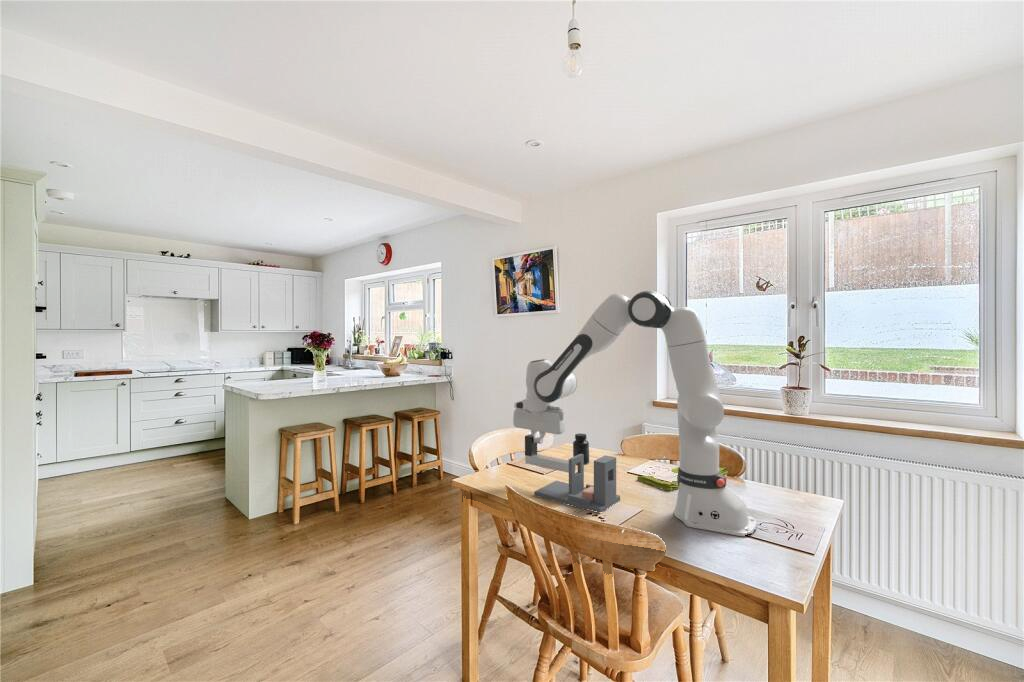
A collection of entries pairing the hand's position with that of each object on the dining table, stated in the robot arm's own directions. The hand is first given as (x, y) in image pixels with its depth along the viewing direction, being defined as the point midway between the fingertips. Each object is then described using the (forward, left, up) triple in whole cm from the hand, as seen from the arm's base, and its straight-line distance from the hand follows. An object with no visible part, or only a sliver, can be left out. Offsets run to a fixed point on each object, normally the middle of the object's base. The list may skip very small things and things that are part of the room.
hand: (538, 443), depth 161 cm
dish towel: (-37, -44, -17) cm, 60 cm away
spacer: (-21, 0, -12) cm, 25 cm away
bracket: (-16, 0, -16) cm, 23 cm away
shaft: (-5, 0, -8) cm, 9 cm away
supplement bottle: (+3, -37, -17) cm, 41 cm away
